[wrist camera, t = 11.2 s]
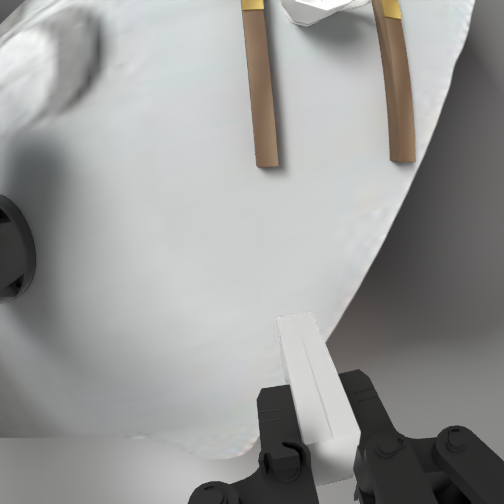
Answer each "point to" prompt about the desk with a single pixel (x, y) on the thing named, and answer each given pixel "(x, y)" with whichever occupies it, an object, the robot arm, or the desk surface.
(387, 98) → the channel
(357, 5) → the cup
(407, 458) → the robot arm
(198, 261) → the desk surface
